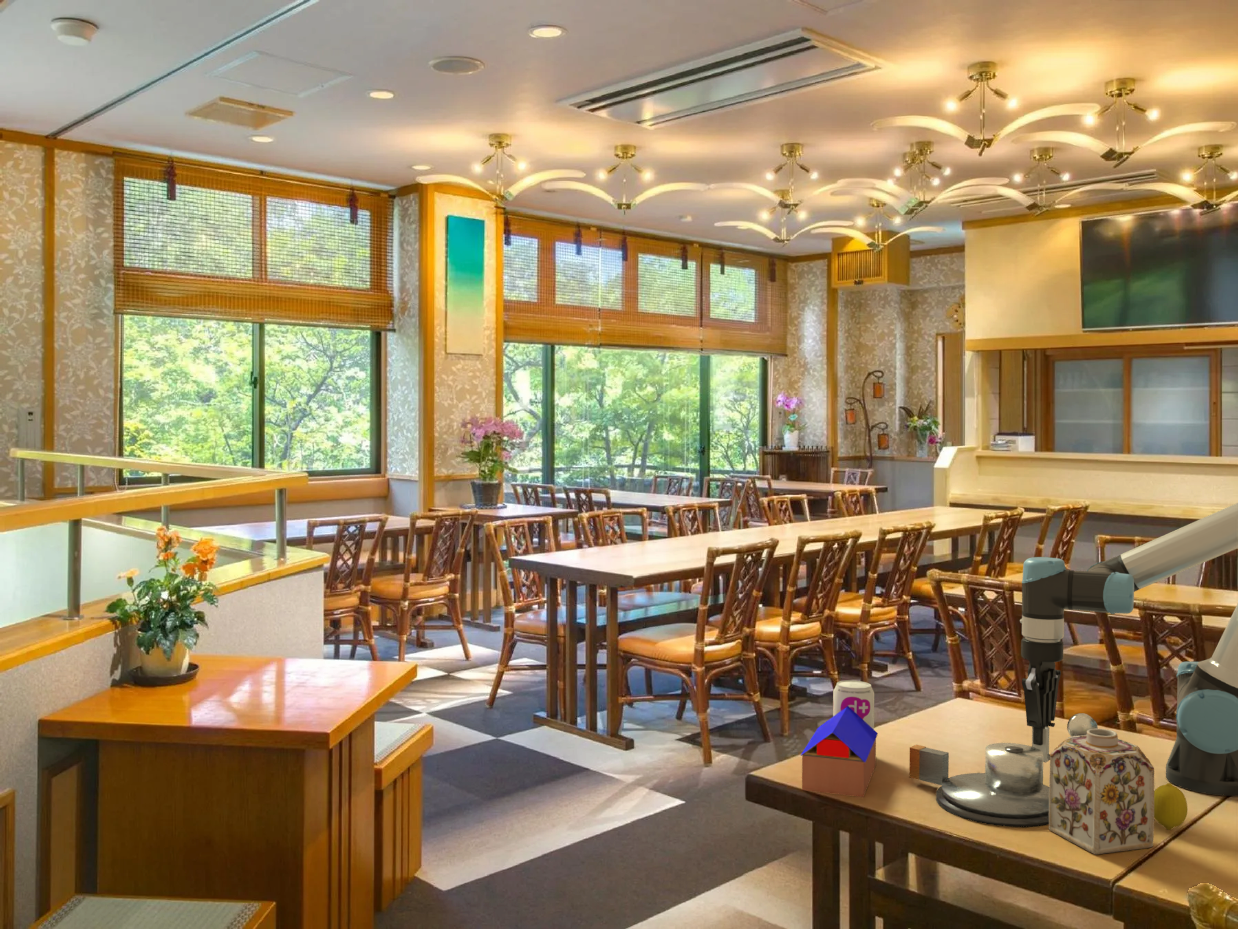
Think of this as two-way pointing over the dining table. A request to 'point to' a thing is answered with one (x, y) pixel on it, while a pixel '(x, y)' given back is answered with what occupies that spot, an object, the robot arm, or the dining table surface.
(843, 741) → the house
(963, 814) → the turntable base
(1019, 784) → the cover
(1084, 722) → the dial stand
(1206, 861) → the dining table surface
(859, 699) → the supplement can
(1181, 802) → the lemon
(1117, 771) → the decorative jar
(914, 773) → the turntable
